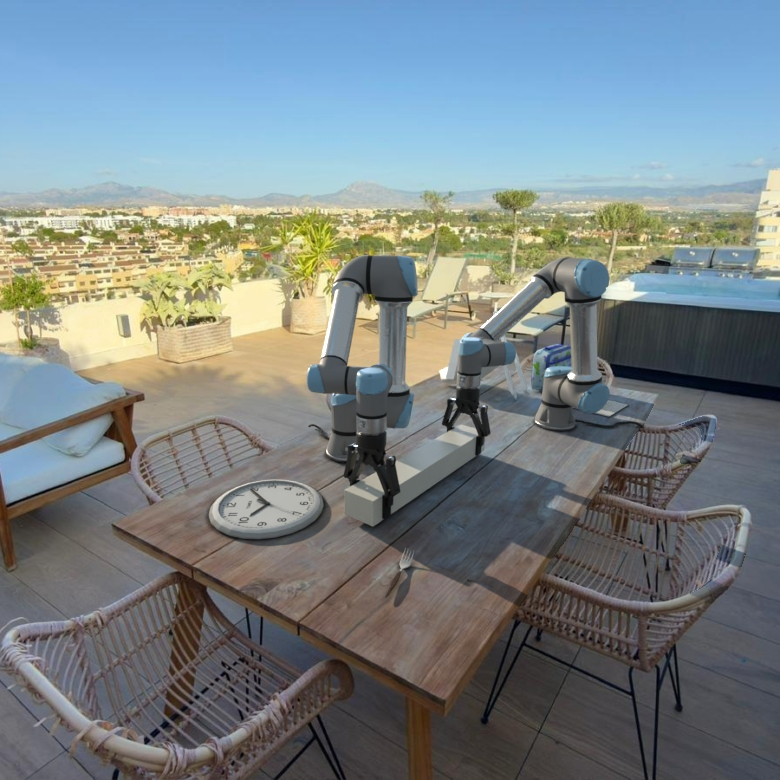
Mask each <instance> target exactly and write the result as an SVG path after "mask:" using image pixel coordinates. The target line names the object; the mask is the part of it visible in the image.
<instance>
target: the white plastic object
mask: <svg viewBox="0 0 780 780" xmlns="http://www.w3.org/2000/svg"><path fill="white" fill-rule="evenodd" d="M496 313H497V311H496V310H495V311H492V316H494V315H495V314H496ZM460 340H461V338H460V339H458V338H454V340H453V344H452V349H451V353H450V357H449V362H448V366H446V367H444V368H442V369H440V370H439V371H438V372H439V376H440V381H442V383H443V384H444V385H445V386H449V385H457V371H458V349H459V342H460ZM503 341H504V342H508V341H507V337H506V334H505V335H504V336H503V337H501V338H500V342H503ZM513 363H514V366H515V369H516V372H517V376H518V380H519V382H520V385H521V389H522V391H523V393H524V395H525V396H526V397H528V396H531V395H530V390H529V388H528V387H529V386H528V384H527V381H526V378H525V375H524V371H523V369H522V368H523V367H522V366H521V362H520V359H519V355H518V352H517V351H516V358H515V360H514V362H513ZM499 367H500V366H491V367H482V369H481V381H480V382H482V381H484V378H485V377H486V376H487V375H489V374H490V373H492V372H494V371H495V370H496V369H497V368H499ZM501 367H502V370H503V373H504V376H505V380H506V383H507V386H508V390H509V393H510V394H511V395H512V397H513V398H514V399H515V400H517V392H516V391H517V390H516V388H515V385H514V381H513V378H512V375H511V371H510V369H509V364H508V365H504V366H501Z"/></svg>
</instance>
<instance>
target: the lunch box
mask: <svg viewBox="0 0 780 780" xmlns="http://www.w3.org/2000/svg"><path fill="white" fill-rule="evenodd" d="M531 364H532V365H531V376H530V377H531V378H530V387H531V389H532V390H536V391H539V392H540V391H541V392H542V391H543V380H544V374H545V370H546V369H547V368H549V367H556V366H566V367H571V345H565V344H560V343H555V344H552V345H547V346H545V347H542V348H539V349H537V350H536V351H535V353H534V355H533V358H532V363H531Z"/></svg>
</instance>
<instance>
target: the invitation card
mask: <svg viewBox="0 0 780 780" xmlns="http://www.w3.org/2000/svg"><path fill="white" fill-rule="evenodd" d="M628 406H629V404H627V403H623V402H618V401H614V400H609V399H608V401H607V403H606V404H605V405H604V407H603V408H602V409H601V410H600V411H598V412H596V413H595V414H596V415H600V416H604V417H608V418H609V417H611V416H613V415H614V414H616V413H617V412H619V411H621V410H623V409H624V408H626V407H628Z"/></svg>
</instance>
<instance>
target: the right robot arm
mask: <svg viewBox="0 0 780 780" xmlns="http://www.w3.org/2000/svg"><path fill="white" fill-rule="evenodd" d="M609 284H610V272H609V270H608V268H607V267H606V265H605V264H604V263H602V262H601V261H599V260H595V259H592V258H579V257H570V256H569V257H567V256H565V257H560V258H557V259H555V260H552V261H551V262H548V264H546V265H545V266H543V267H542V268H540V269H539V270H538V271H537V272H536V273H535V274H533V275H532V276H531V277H530V278H529V283H528V284H527V285H526V286H525V287H524V288H522V289H521V290H520V291H518V292H517V294H516V295H514V297H512V298H511V299H510V300H509V301H508V302H507V303H505V305H504V306H502V307H501V308H500V309H499V310H498V311H496V314H495V315H492V316H491V317H490V318H489V319H488V320H487V321H486V322H485V323H484V324H483V325H481V326H480V327H479V328H478V329H477V330H476V331H474V332H468V333H465V334H464V335H462V336H461V338H460V339H461V340H460V342H459V349H458V371H457V384H456V388H455V389H456V390H455V398H454V397H449V398H448V399H446V407H445V408H446V409H445V411H444V415H443V417H442V422H441V425H442V427H443V426H444V427H446V432H448V431H450V430H452V429H454V428H455V427H456V426H455V424H456V422H457V420H458V419H459V417H460V416H461V414H465V415H467V416H469V418H470V419H471V420H472V423H473V426H474V428H476V430H477V433H478V436H477V437H476V449H475V455H476V456H475V457H478V456H479V455H480V454H481V453H482V452H481V446H483V445H484V438H485V439H486V438H487V437H488V436H490V435H491V428H490V420H489V415H488V409H489V406H488V405H487V404H485V405H483V404H480V394H481V393H480V392H481V388H480V387H481V382H482V381H481V369H482V367H491V366H499V367H502V366H504V365H508V366H509V365H512V364H513V363H514V360H515V358H516V352H517V349H516V347H515V345H514V344H513V342H511V341H507V342H504V341H503V342H502V341H499V340H501V337H503V336H504V335H505V336H506V334H507V333H508V332H510V330H512V329H513V328H514V327H515V326H516V325H517V324H519V322H520V321H522V320H523V318H525V317H526V316H527V315H529V313H530V312H532V310H534V309H535V308H536V307H537V306H538V305H540V303H542V302H543V301H544V300H545V299H550V298H551V297H553V295H555V294H557V293H564V302H565V304H566V305H568V306H569V326H570V327H569V328H570V346H571V367H566V366H556V367H549V368H547V369H546V370H545V374H544V380H543V391H541V402H540V405H539V407H538V410H537V411H536V413H535V417H534V424H535V425H536V426H537V427H539V428H542V429H544V430H549V431H556V432H567V431H572V430H574V429H575V428H576V423H578V424H579V423H580V424H584V425H588V426H593V427H599V428H604V429H613V428H615V427H617V426H618V425H636V426H638V427H639V428H641V429H645V426H643V424H641V423H640V422H637V421H632V420H628V421H627V420H626V421H625V420H624V421H616V422H615V423H614V424H610V425H609V424H602V423H601V424H600V423H596V422H590V421H587V420H582V419H576V418H575V417H576V416H575V413H574V409H575V410H578V411H579V412H581V413H586V414H589V415H590V414H591V415H593V414H596V412H598V411H600V410H601V409H602V408H603V407H604V405H605V404H606V403H607V401H608V400H609V398H610V395H611V394H610V388H609V387H608V385H607V384H605V383H603V374H602V372H601V371H600V370H598V310H597V309H598V306H597V305H598V303H599V302H601V300H602V295H604V294H605V293H606V291H607V288H609ZM455 405H456V410H455V411H454V407H455ZM453 411H454V413H453ZM452 413H453V414H452ZM479 414H480V416H479ZM451 416H452V417H451ZM484 446H485V445H484Z"/></svg>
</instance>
